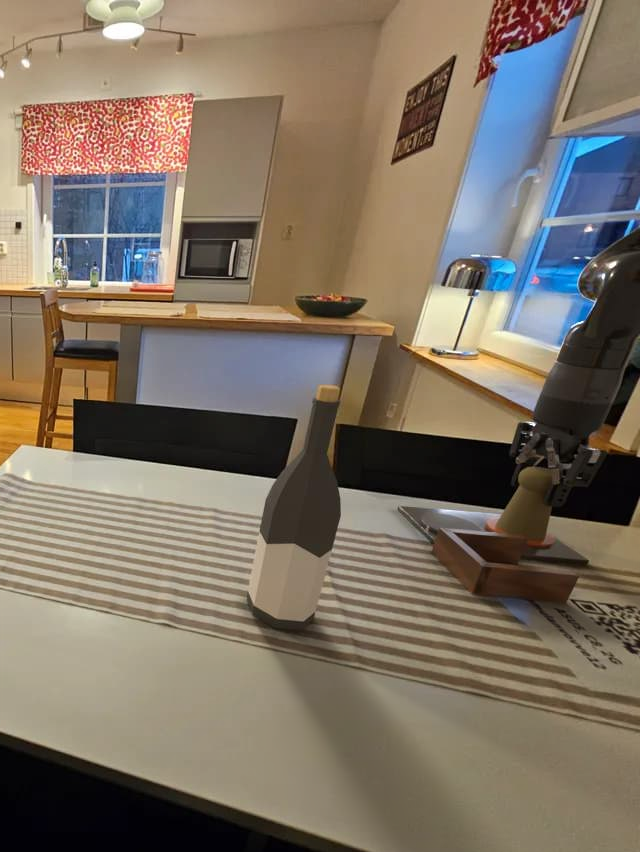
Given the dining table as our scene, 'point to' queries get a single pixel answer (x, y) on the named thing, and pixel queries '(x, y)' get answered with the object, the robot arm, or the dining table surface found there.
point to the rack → (499, 566)
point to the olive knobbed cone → (528, 505)
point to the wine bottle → (298, 527)
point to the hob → (486, 522)
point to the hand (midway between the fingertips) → (534, 495)
